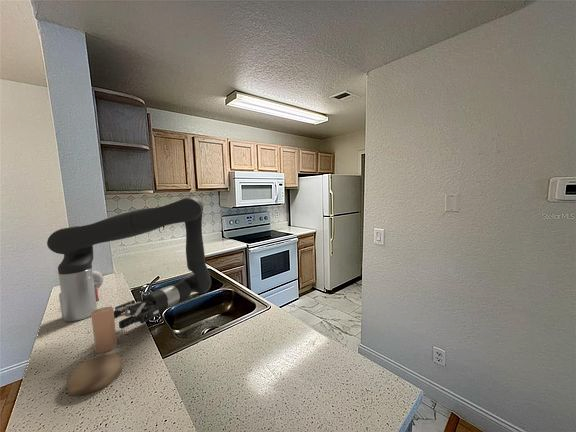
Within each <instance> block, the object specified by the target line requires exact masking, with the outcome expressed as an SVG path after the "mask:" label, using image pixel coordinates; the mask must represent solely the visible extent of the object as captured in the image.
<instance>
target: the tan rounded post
mask: <svg viewBox="0 0 576 432" xmlns="http://www.w3.org/2000/svg"><path fill="white" fill-rule="evenodd" d="M114 311H115V309H114V307H113V306H105V307H100V308H97V310H95V311H93V312H92V313H91V316H90V317H91V325H92V332H93V333H92V334H93V341H94V348H95V350H94V351H95V353H96V354H103V353H107V352H110V351H112V350H114V348H116V347H117V346H118V337H117V330H116V321H115V319H116V318H115V319H114Z"/></svg>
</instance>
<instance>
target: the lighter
mask: <svg viewBox="0 0 576 432" xmlns="http://www.w3.org/2000/svg"><path fill="white" fill-rule="evenodd" d="M93 280H94V281H95V279H94V278H93ZM94 288H95V296H96V303H97V302H99V301H100V297H99V292H98V289H97V283H96V282H94Z"/></svg>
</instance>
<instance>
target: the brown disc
mask: <svg viewBox="0 0 576 432" xmlns="http://www.w3.org/2000/svg"><path fill="white" fill-rule="evenodd" d="M122 370H123V366H122V358H121V356H120V355H118V354H113V353H111V354H103V355H99V356H96V357H94V358H91V359H89V360H87V361H84V362H83V363H81V364H80V365H78V366H76V367H75V368H74V369H73V370H71V372H70V373H69V374H68V375H67V377H66V388H67V393H68V394H69V395H70V396H73V397H81V396H82V397H83V396H87V395H91V394H93V393H97V392H98V391H100V390H102V389H103V388H107V387H108V386H109V385H111V383H113V382H114V381H115V380H116V379H118V378H119V376H120V375H121V373H122Z"/></svg>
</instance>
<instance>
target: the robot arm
mask: <svg viewBox="0 0 576 432" xmlns="http://www.w3.org/2000/svg"><path fill="white" fill-rule="evenodd" d="M203 212H204V205H203V203H202V201H201V199H199V198H198V197H195V196H187V197H184V198H182V199H179V200H177V201H174V202H171V203H168V204H165V205H163V206H158V207H148V208H141V209H135V210H131V211H128V212H124V213H120V214H118V215H114V216H111V217H108V218H104V219H102V220H98V221H96V222H94V223H91V224H85V225H80V226H76V225H75V226H70V227H63V228H60V229H57V230H56V231H54V232H52V233H51V234H50V235H49V236H48V238H47V241H46V245H47V248H48V249H49V250H50V251H51V252H53V253H55V254H57V255H63V258H62V261H61V262H60V263H59V265H58V267H57V272H58V280H59V288H60V293H59V294H58V297H59V304H60V312H61V319H63V320H64V321H65V322H77V321H81V320H84V319H86V318H89V317H91V313H92V312H93V311H95V310H97V309H98V307H97V302H96V296H95V288H94V280H93V272H92V271H93V260H94V245H97V244H103V243H108V242H113V241H119V240H123V239H128V238H132V237H135V236H139V235H144V234H146V233H150V232H153V231H155V230H158V229H160V228H163V227H165V226H169V225H174V224H180V223H184V226H185V234H186V235H185V237H186V238H185V259H186V266H187V270H188V271H190V272H192V274H189V275H187V276H185V277H184V278H183V279H181V280H180V281H178V282H175V283H174V284H171V285H168V286H165V287H162V288H160V289H157V290H154V291H152V292H149V293H147V294H145V296H144V297H143V299H142V301H136V300H135V299H134V300H130V301H127V302H124V303H123V304H120V305H117V306H115V307H114V319H118V318H120V317H125V318H124V319H121V320H119V321H118V326H119V327H118V328H119V329H122V330H123V329H124V328H127V327H129V326H131V325H133V324H138V323H140V324H144V323H146V322H149V321H150V320H152V319H153V318H156V317H157V316H159V315H160V314H161V313H162V312H164V311H166V310H168V309H170V308H172V307H174V306H175V305H177V304H179V303H181V302H184V301H185V300H186V299H188V298H189V297H190V295H191V294H192V292H195V293H199V294H205V293H208V292H209V290H210V289H211V287H212V278H211V275H210V272H209V269H208V267H207V265H206V256H205V254H206V253H205V246H204V241H203V240H204V238H203V229H202V227H203V225H202V224H203V221H202V220H203Z"/></svg>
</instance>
